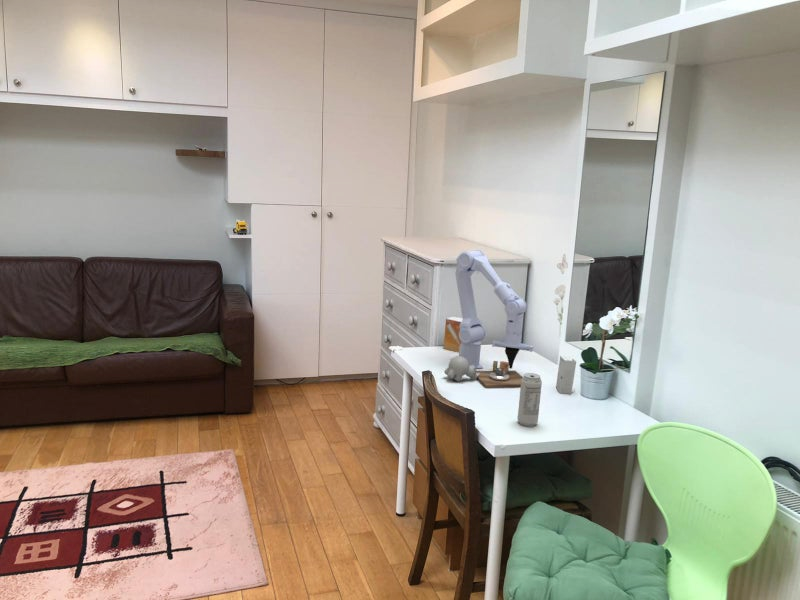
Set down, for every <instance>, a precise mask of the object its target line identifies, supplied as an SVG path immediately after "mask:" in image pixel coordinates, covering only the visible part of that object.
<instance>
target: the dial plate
mask: <svg viewBox="0 0 800 600" xmlns="http://www.w3.org/2000/svg"><path fill="white" fill-rule="evenodd" d="M508 371H510V368H509V362H508V361H505V360H504V361H501V360H500V362H499V367H497V368H496V372H492V373H490V376H489V377H490V378H492V379H495V380H508V379H509V375H508V374H506V373H507V372H508Z"/></svg>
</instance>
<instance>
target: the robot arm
mask: <svg viewBox="0 0 800 600" xmlns="http://www.w3.org/2000/svg"><path fill="white" fill-rule="evenodd" d="M455 260H456V269H455V279H456V285H457V292H458V298H459V303H460V304H459V306H460V310H461V316H462V317H461V318H463V320H462V322H461V323H460V325H459V327H460V331H459V339H460V341H461V344H460V347H459V352H458V356H462V357H464V358H465V359H466V360H467V361H468V363H469V366H472V365H474V367H477V368H476V369H483V368H484V367H483V365H481V364H480V361H481V351H482V350H481V347H482V340H483V341H484V339H485V337H486V330H485V327H484V326H483V323H482V320H481V319H480V318H479V317H478V313H477V307H476V302H475V296H474V290H473V284H472V278H471V277H472V275H473V274H474V272H480V273H481V274H482V275H483V276H484V277H485V278H486V279H487V281H488V282H489V283H490V284H491V286H492V287H493V288H494V290H493V291H494V294H495V295H496V296H497V298H498V299H499V300H500V302H501V303H502V304H503V306H504V311H505V313H506V324H505V325H506V327H505V336H504V337H505V339H504V340H492V345H491V346H492V347H493V348H495V347H496V348H502V349H503V348H504V353H505V355H506V358H507V362H509V370H510V369H513V365H514V362H515V359H516V357H517V355H518V354H519V351H525V352H531V353H532V352H533V350H534V345H532V344H527V343H522V333H523V324H524V313H526V312H527V309H528V304H527V302H526V300H525V299H524V298H522V297H520V296H519V295H518V294H517V293H516V292H515V291H514V290H513V288H512V285H511V284H510V283H508V282H506V281H505V282H504V281H502V280H501V278H500V277H499V275H498V274H497V272H496V270H494V269H495V268H493V266H492V265H491V263H490V262H489V259H488V257H487V256H486V254H485V253H484V252H483V251H482V250H481V249H480V250H479V249H476V250H470V251H468V250H467V251H461V253H459V255H458V256H457V258H456V259H455Z"/></svg>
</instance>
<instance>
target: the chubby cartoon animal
mask: <svg viewBox="0 0 800 600" xmlns="http://www.w3.org/2000/svg"><path fill="white" fill-rule="evenodd" d="M477 369H478V368H477V367H474V365H472V366H469V363H468V361H467V360H466V359H465V358H464V357H462V356H459V355H457V356H454V357H453V358H451V359H449V363H448V367H447V368H445V370H444V374H445V375H446V376H447V377H448V378H450V379H454V380H455V381H456V382H462V379H463V377H464V376H466V377H468V378H469V379H470V380H471V381H475V380H477V379H476V378H477V377H478V376H479V373H478V374H477V373H476V371H477Z"/></svg>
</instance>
